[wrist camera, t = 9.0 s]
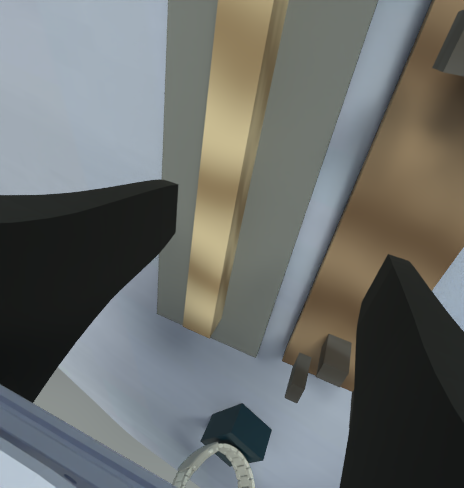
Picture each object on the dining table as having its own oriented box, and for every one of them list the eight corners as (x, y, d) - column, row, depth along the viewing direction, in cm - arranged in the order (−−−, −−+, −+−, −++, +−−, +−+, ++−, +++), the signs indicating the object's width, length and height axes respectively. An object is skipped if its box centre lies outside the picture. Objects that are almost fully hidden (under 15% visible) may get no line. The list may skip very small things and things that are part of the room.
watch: (251, 448, 37) (212, 573, 28) (201, 404, 36) (144, 518, 27) (285, 441, 33) (252, 580, 25) (230, 392, 33) (176, 517, 24)
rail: (221, 317, 27) (209, 338, 25) (196, 307, 27) (182, 326, 25) (304, -74, 13) (291, -94, 11) (250, -81, 14) (229, -102, 12)
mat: (257, 354, 28) (255, 357, 28) (159, 311, 30) (157, 313, 30) (438, -177, 11) (440, -183, 10) (180, -189, 13) (174, -195, 13)
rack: (357, 380, 25) (352, 461, 20) (285, 349, 26) (263, 418, 21) (671, -70, 10) (945, -180, 5) (470, -91, 11) (537, -193, 7)
